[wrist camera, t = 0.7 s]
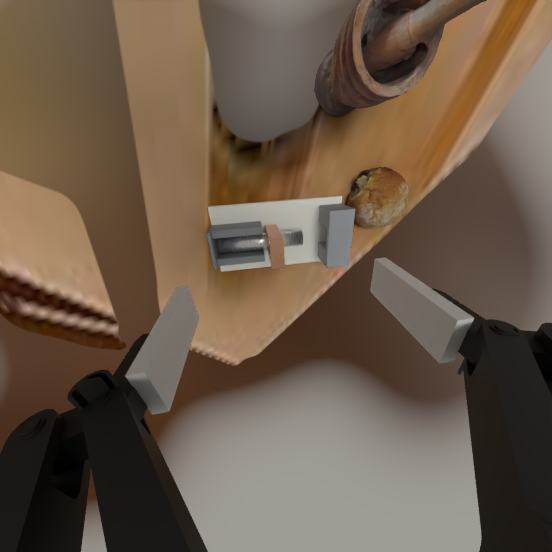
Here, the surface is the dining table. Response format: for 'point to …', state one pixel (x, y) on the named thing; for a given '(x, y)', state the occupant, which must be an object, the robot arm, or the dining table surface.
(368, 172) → the bread roll
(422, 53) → the mortar and pestle
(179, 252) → the dining table surface
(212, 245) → the guide base
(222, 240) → the slip tube
